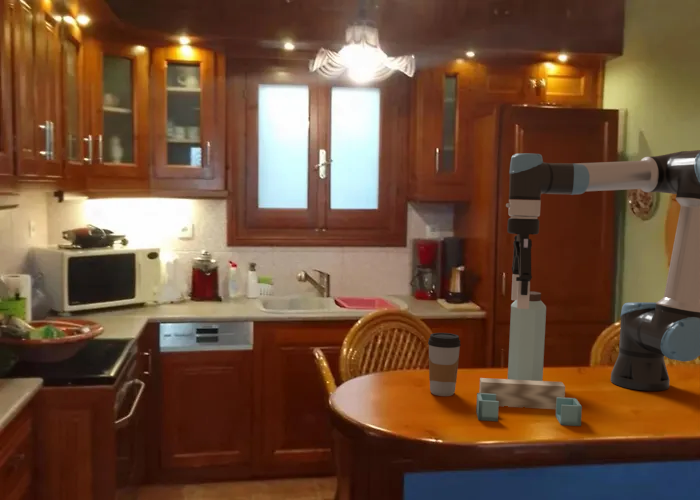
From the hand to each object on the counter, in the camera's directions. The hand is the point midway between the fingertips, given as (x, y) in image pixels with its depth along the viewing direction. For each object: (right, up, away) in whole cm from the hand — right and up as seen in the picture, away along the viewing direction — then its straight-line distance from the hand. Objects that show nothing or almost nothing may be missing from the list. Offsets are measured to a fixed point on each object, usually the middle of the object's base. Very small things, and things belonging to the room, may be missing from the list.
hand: (519, 304), depth 177 cm
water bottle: (+7, -24, +22) cm, 33 cm away
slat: (0, -25, +1) cm, 25 cm away
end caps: (-1, -26, -10) cm, 28 cm away
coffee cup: (-18, -24, +9) cm, 31 cm away
